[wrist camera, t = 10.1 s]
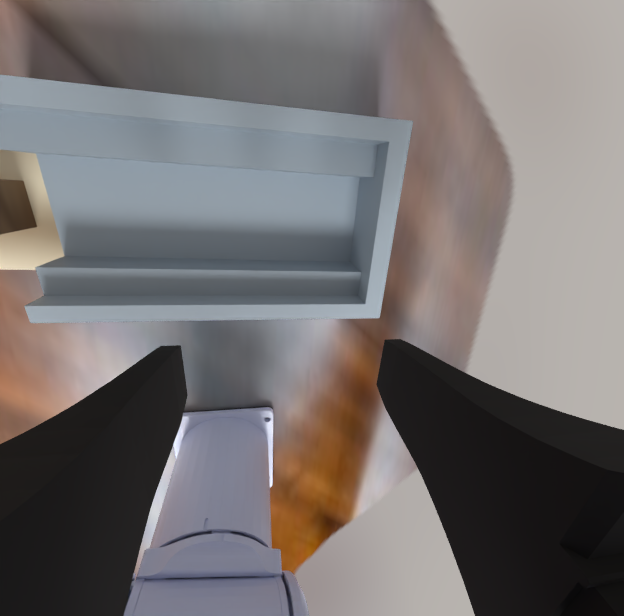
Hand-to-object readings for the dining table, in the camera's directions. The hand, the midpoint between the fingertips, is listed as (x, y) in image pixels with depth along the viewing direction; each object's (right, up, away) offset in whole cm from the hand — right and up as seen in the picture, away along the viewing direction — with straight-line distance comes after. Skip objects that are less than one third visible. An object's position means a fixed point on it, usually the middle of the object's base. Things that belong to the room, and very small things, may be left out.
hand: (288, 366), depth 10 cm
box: (-4, +8, +7) cm, 12 cm away
